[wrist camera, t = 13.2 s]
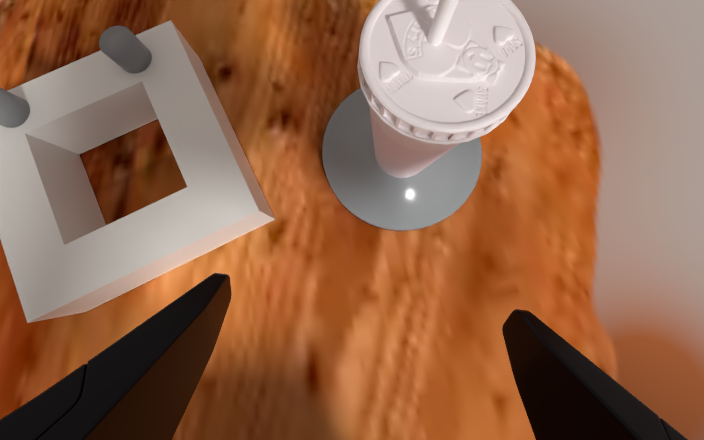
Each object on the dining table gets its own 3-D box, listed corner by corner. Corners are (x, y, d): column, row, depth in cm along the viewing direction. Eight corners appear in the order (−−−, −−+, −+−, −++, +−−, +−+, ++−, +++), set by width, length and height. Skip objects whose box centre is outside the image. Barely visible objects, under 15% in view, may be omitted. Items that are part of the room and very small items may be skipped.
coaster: (503, 135, 21) (510, 128, 20) (425, 261, 20) (429, 262, 19) (376, 60, 22) (377, 50, 21) (293, 176, 20) (291, 172, 19)
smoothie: (382, 93, 20) (447, -269, 6) (464, 135, 20) (723, -160, 6) (338, 169, 19) (302, -59, 6) (421, 214, 19) (608, 88, 5)
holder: (275, 219, 20) (249, 205, 15) (86, 311, 19) (-7, 329, 14) (199, 58, 22) (154, -2, 17) (24, 136, 21) (-78, 97, 16)
